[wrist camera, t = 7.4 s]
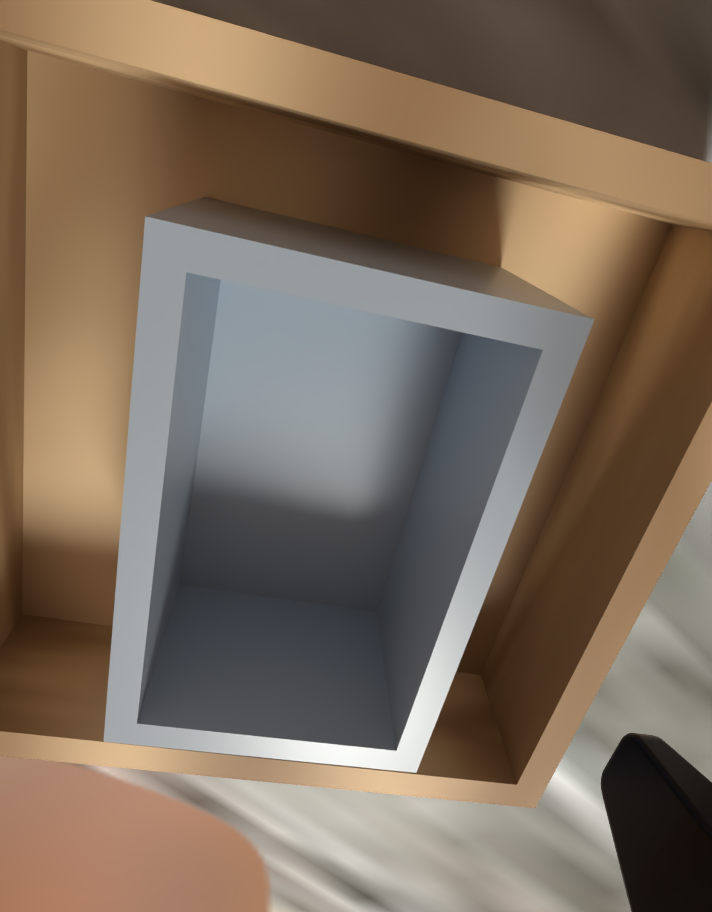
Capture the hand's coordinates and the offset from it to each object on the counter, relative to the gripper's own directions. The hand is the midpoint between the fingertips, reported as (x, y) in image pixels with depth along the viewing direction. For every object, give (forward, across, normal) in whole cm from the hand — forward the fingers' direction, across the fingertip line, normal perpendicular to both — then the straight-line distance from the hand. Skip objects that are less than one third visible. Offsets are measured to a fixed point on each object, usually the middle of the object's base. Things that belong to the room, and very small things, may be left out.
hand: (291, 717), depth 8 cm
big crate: (+9, 0, 0) cm, 9 cm away
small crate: (+8, 0, 0) cm, 8 cm away
